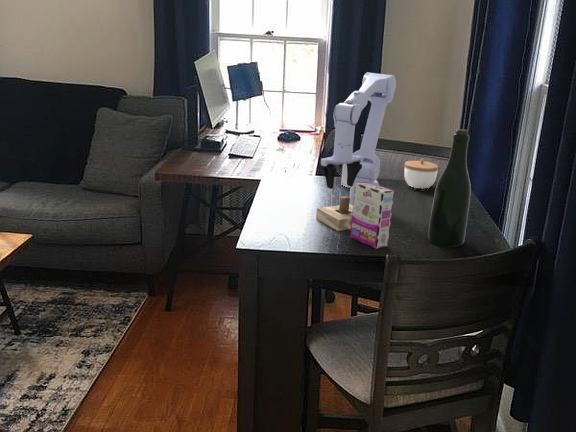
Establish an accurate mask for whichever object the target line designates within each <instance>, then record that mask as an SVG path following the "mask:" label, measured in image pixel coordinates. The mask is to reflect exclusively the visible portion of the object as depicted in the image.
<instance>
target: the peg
mask: <svg viewBox="0 0 576 432" xmlns="http://www.w3.org/2000/svg"><path fill="white" fill-rule="evenodd" d="M349 204H350V196H346V195H345V196H344V195H342V196H340V197H339V204H338V205H339V213H340V214H342V215H343V214H348V213H349Z"/></svg>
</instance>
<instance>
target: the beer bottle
mask: <svg viewBox="0 0 576 432" xmlns="http://www.w3.org/2000/svg"><path fill="white" fill-rule="evenodd" d="M469 142H470V135H469V130H467V129H464V128H463V129H462V128H457V129H455V133H453V135H452V142H451V143H452V145H451V149H450V154H449V157H448V161H447V162H446V163H447V164H446V165H445V167H444V169H443V171H442V173H441V175H440V176H439V179H438V180H437V184H436V185H435V186H436V187H435V190H434V194H433V195H434V196H433V201H432V205H431V212H430V213H431V214H430V217H429V218H430V219H429V224H428V232H427V239H428V241H430V242H431V243H433V244H434V245H437V246H441V247H447V248H456V247H457V248H458V247H460V246H462V245H463V244H464V243H465V238H466V232H467V227H468V218H469V212H470V204H471V193H472V189H471V188H472V187H471V186H472V185H471V181H470V176H469V171H468V166H467V165H468V163H467V160H468V159H467V156H468V155H467V154H468V147H469Z"/></svg>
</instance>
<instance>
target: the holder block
mask: <svg viewBox="0 0 576 432" xmlns="http://www.w3.org/2000/svg"><path fill="white" fill-rule="evenodd" d="M339 205H340V204H338V205H332V206H324V207H323V206H322V207H317V208H316V216H315V219H316V220H317V221H320V222H322V223H323V224H325V225H327V226H329V227H330V228H332V229H334V230H336V231H337V232H339V231H345V230H351V221H352V211H353V206H351V205H349V213H348V214H343V215H342V214H340V213H339Z"/></svg>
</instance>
